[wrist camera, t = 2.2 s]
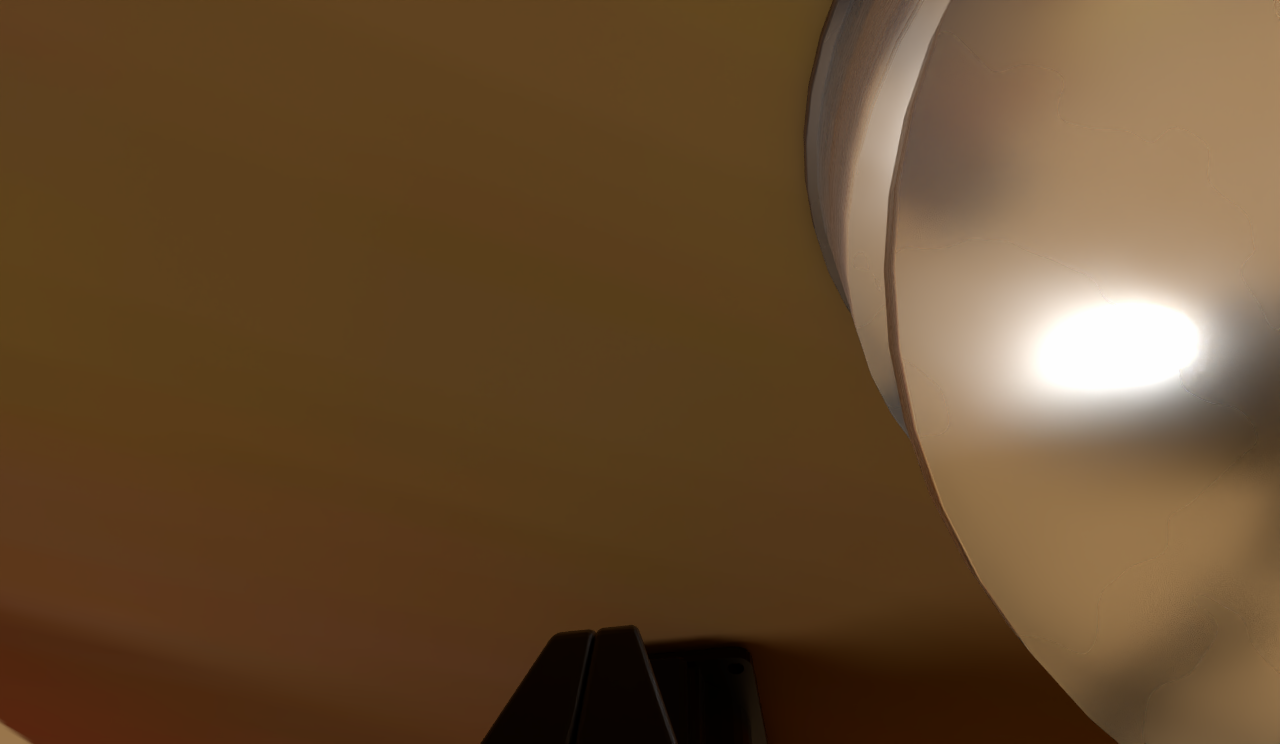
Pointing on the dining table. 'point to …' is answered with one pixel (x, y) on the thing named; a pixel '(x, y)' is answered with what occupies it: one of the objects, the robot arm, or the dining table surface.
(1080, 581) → the lid
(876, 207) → the pot
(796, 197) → the dining table surface
